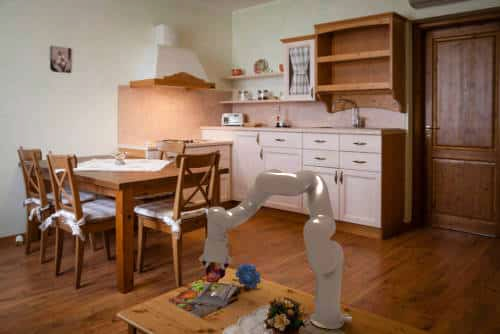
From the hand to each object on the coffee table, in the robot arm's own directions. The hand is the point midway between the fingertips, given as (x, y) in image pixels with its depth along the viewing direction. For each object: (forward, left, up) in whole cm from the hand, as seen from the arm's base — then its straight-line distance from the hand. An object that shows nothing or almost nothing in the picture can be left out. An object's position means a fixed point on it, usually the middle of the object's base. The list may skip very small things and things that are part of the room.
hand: (215, 276), depth 189 cm
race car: (0, 0, -1) cm, 1 cm away
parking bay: (0, 0, -9) cm, 9 cm away
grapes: (-12, -10, -9) cm, 18 cm away
